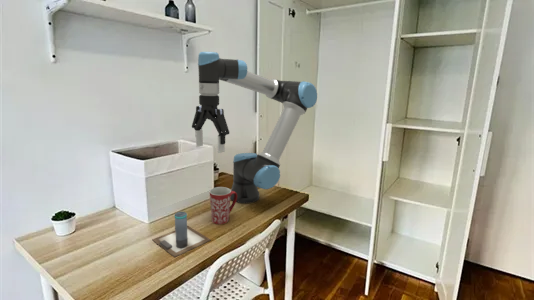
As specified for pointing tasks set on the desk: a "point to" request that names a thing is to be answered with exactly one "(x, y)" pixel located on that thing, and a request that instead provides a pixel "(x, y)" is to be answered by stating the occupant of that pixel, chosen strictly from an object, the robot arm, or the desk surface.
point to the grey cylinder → (181, 229)
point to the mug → (221, 204)
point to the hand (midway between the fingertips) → (210, 149)
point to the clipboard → (170, 242)
